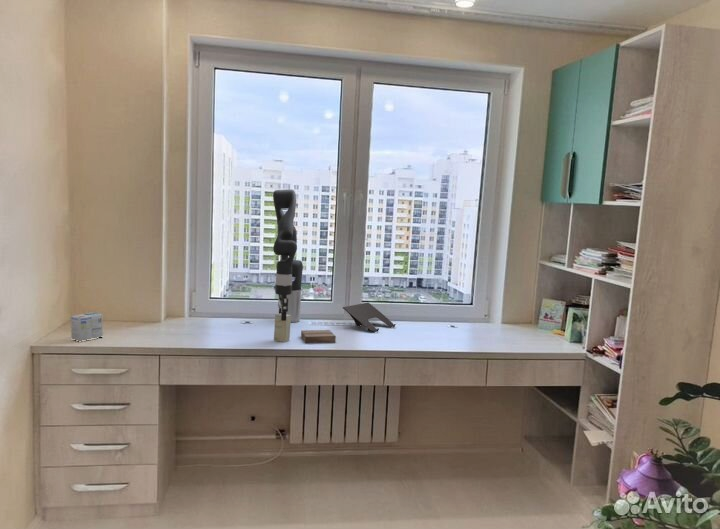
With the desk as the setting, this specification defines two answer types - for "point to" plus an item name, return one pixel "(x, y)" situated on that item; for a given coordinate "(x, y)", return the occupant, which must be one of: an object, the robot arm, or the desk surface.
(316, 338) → the walnut stand
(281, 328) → the skincare box
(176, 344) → the desk surface
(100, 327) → the light bulb box
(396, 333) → the desk surface
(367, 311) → the portable electronic device stand
